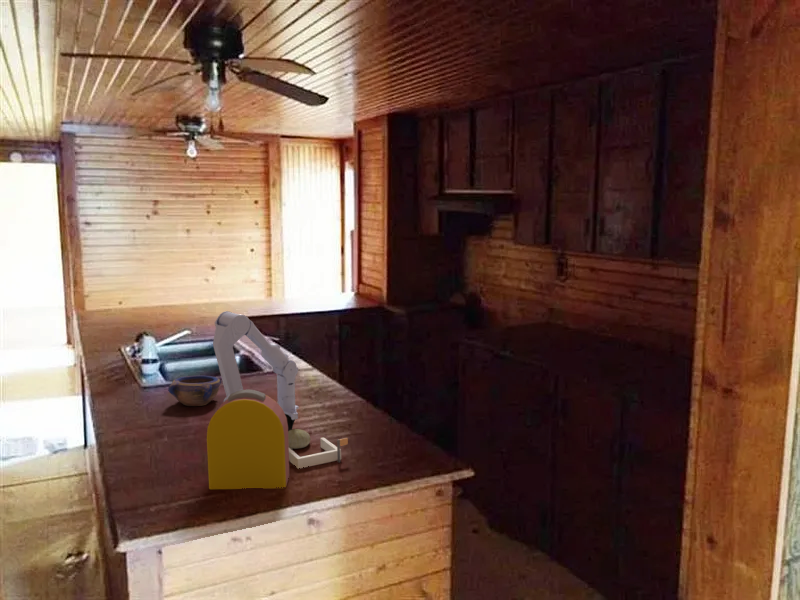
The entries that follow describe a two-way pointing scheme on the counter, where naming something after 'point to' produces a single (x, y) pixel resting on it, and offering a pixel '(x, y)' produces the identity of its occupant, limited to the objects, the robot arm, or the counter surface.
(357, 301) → the counter surface
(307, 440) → the sea urchin shell
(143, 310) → the counter surface
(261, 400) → the yellow arched block
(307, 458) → the shallow white tray
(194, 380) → the bowl
